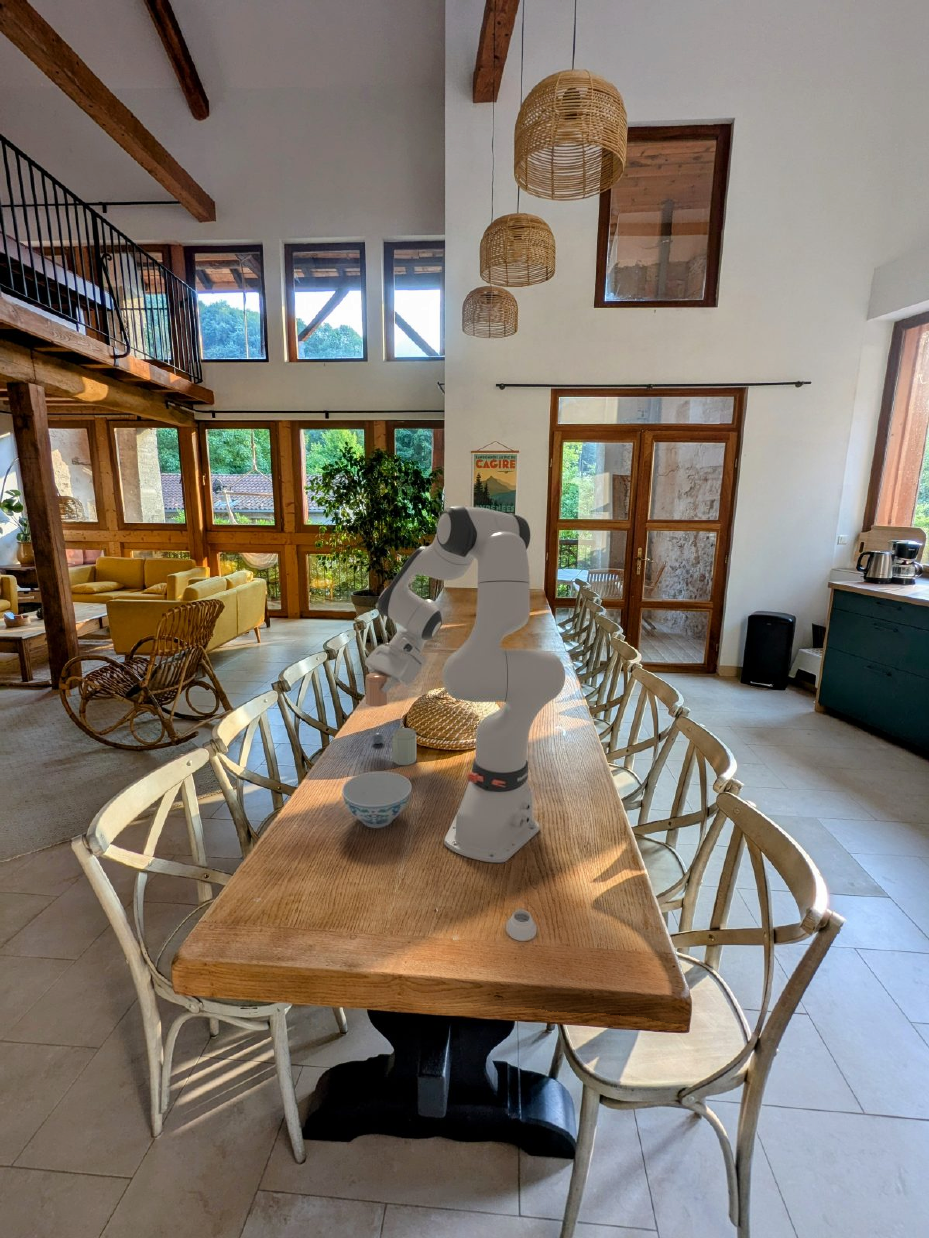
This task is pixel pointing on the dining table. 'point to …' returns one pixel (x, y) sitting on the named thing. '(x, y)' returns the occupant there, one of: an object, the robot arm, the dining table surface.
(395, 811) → the chinaware
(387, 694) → the pink clay canister
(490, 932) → the dining table surface
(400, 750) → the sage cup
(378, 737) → the marble
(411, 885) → the dining table surface
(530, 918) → the lidless jar
